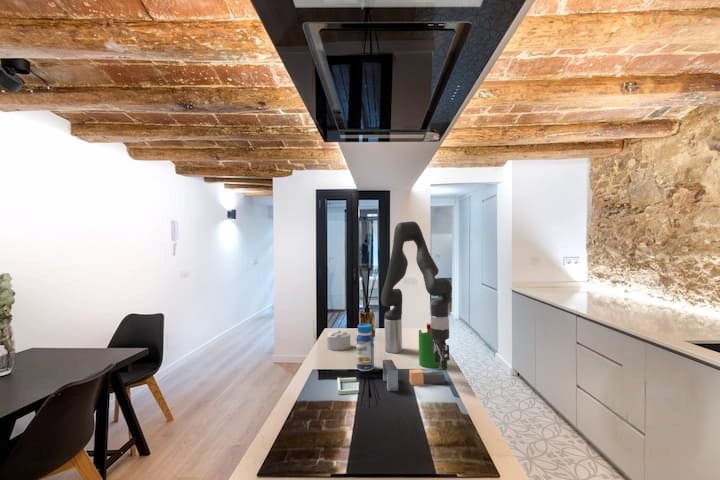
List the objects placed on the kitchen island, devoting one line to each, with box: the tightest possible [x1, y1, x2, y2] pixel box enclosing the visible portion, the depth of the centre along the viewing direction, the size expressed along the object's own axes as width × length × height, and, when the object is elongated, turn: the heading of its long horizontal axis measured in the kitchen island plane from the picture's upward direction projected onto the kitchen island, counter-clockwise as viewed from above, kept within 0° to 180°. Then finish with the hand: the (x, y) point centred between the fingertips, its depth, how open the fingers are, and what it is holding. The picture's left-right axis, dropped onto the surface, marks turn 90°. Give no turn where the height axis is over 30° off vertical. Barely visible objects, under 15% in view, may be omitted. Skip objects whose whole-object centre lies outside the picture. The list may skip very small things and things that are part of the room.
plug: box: [408, 368, 446, 386], centre depth 136 cm, size 14×4×5 cm, turn 96°
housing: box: [382, 359, 399, 392], centre depth 134 cm, size 4×12×8 cm, turn 6°
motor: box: [418, 322, 441, 369], centre depth 156 cm, size 10×9×20 cm
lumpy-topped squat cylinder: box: [326, 329, 352, 351], centre depth 184 cm, size 10×13×9 cm
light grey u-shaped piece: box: [336, 377, 360, 395], centre depth 132 cm, size 12×8×2 cm, turn 6°
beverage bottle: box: [355, 323, 375, 372], centre depth 152 cm, size 8×8×20 cm
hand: (440, 365), depth 136 cm, fingers open, 8 cm apart
